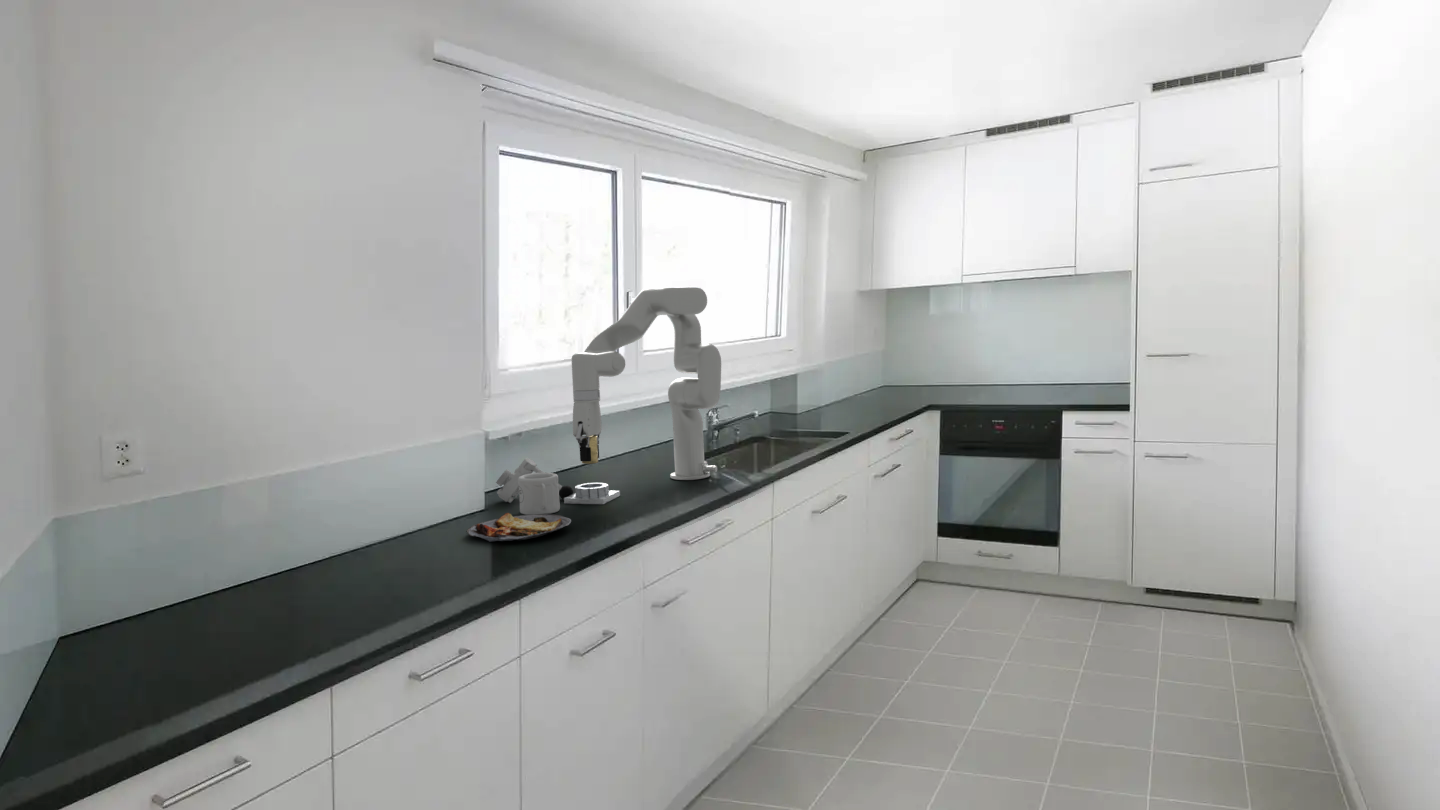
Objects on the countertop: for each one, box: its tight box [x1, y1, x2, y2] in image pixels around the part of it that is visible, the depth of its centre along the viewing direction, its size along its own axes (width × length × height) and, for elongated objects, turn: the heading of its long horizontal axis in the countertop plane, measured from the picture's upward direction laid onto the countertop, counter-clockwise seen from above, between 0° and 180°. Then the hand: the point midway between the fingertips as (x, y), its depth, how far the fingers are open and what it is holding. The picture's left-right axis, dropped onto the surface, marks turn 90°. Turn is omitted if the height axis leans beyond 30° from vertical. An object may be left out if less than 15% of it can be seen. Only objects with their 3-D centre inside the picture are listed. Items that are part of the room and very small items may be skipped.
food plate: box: [465, 512, 572, 543], centre depth 240 cm, size 25×23×4 cm
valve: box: [495, 457, 574, 504], centre depth 281 cm, size 10×20×15 cm
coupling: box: [581, 436, 599, 465], centre depth 277 cm, size 5×5×8 cm
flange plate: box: [563, 482, 621, 505], centre depth 278 cm, size 12×12×4 cm
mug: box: [518, 472, 561, 516], centre depth 263 cm, size 14×11×10 cm
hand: (589, 459), depth 277 cm, fingers closed on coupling, 4 cm apart
